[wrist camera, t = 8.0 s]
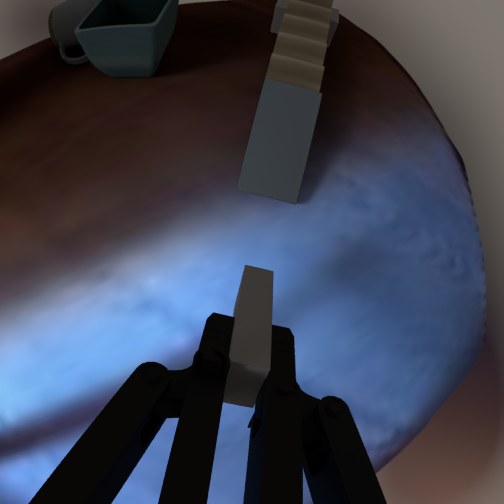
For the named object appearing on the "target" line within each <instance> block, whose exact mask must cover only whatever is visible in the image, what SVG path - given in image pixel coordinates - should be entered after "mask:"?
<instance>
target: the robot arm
mask: <svg viewBox="0 0 504 504" xmlns="http://www.w3.org/2000/svg"><path fill="white" fill-rule="evenodd" d="M272 305H273V271H270V270H265V269H261V268H257V267H252V266H248V265H245V267H244V271H243V275H242V279H241V283H240V287H239V291H238V295H237V299H236V303H235V307H234V313H233V317H231V316H227V315H222V314H218V313H214V312H213V313H212V314H211V315H210V316H209V317H208V318H207V320H206V324H205V327H204V331H203V335H202V338H201V342H200V345H199V349H198V351H197V352H196V353H195V355H194V359H193V364H192V365H191V366H190V367H188V368H186V369H183V370H168V369H167V368H166V367H165V366H163V365H162V364H160V363H157V362H146V363H142V364H141V365H139V366H138V367H137V368H136V369H135V371H134V372H133V373H132V374H131V375H130V377H129V378H128V379H127V380H126V382H125V383H124V384H123V385H122V386H121V388H120V389H119V390H118V391H117V393H116V394H115V395H114V396H113V398H112V399H111V400H110V401H109V403H108V404H107V405H106V406H105V407H104V409H103V410H102V411H101V412H100V414H99V415H98V416H97V417H96V419H95V420H94V421H93V422H92V424H91V425H90V426H89V427H88V429H87V430H86V431H85V432H84V434H83V435H82V436H81V437H80V439H79V440H78V441H77V442H76V444H75V445H74V446H73V447H72V449H71V450H70V451H69V452H68V454H67V455H66V456H65V458H64V459H63V460H62V461H61V463H60V464H59V465H58V466H57V468H56V469H55V470H54V472H53V473H52V474H51V475H50V477H49V478H48V479H47V480H46V482H45V483H44V484H43V486H42V487H41V488H40V489H39V491H38V492H37V493H36V495H35V496H34V497H33V498H32V500H31V501H30V502H29V504H111V503H112V502H113V500H114V499H115V497H116V496H117V494H118V493H119V491H120V490H121V488H122V487H123V485H124V484H125V482H126V481H127V479H128V478H129V476H130V474H131V473H132V471H133V470H134V468H135V467H136V465H137V464H138V462H139V461H140V459H141V458H142V456H143V454H144V453H145V451H146V450H147V448H148V447H149V445H150V444H151V442H152V440H153V439H154V437H155V436H156V434H157V433H158V431H159V430H160V428H161V426H162V425H163V423H164V422H165V420H166V419H167V418H179V420H178V424H177V428H176V432H175V436H174V440H173V444H172V448H171V452H170V456H169V460H168V464H167V468H166V473H165V477H164V481H163V485H162V489H161V494H160V498H159V502H158V504H207V499H208V492H209V486H210V480H211V473H212V467H213V461H214V454H215V448H216V442H217V436H218V429H219V423H220V417H221V411H222V405H223V402H225V403H229V404H235V405H240V406H245V407H251V408H253V407H254V404H255V412H254V414H253V416H252V418H251V420H250V422H249V425H248V428H250V427H251V431H250V441H249V452H248V462H247V472H246V482H245V492H244V502H243V504H303V469H304V473H305V477H306V480H307V484H308V487H309V491H310V494H311V498H312V501H313V504H387V503H386V500H385V498H384V495H383V492H382V490H381V487H380V485H379V482H378V480H377V477H376V474H375V472H374V469H373V467H372V464H371V462H370V459H369V457H368V454H367V452H366V449H365V447H364V444H363V442H362V439H361V437H360V434H359V432H358V429H357V427H356V424H355V422H354V419H353V417H352V415H351V412H350V410H349V407H348V406H347V404H346V403H345V402H344V401H343V400H342V399H340V398H338V397H335V396H327V397H323V398H322V399H321V400H320V399H317V398H315V397H312V396H310V395H308V394H306V393H305V392H303V391H302V390H301V389H300V386H299V385H298V383H297V382H296V371H295V347H294V346H295V345H294V336H293V334H292V332H291V330H290V328H286V327H281V326H276V325H272Z"/></svg>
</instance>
